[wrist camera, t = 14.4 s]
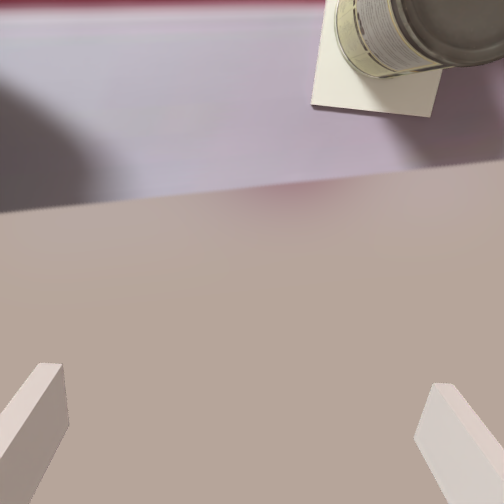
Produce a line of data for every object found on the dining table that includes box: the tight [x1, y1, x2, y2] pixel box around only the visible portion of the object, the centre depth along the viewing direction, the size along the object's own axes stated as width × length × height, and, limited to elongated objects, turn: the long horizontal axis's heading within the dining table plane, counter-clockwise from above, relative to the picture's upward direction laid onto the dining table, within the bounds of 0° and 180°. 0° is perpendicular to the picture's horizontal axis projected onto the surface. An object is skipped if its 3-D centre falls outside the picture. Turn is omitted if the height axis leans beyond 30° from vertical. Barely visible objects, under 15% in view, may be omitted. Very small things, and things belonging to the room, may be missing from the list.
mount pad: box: [311, 0, 443, 117], centre depth 34 cm, size 12×14×1 cm
